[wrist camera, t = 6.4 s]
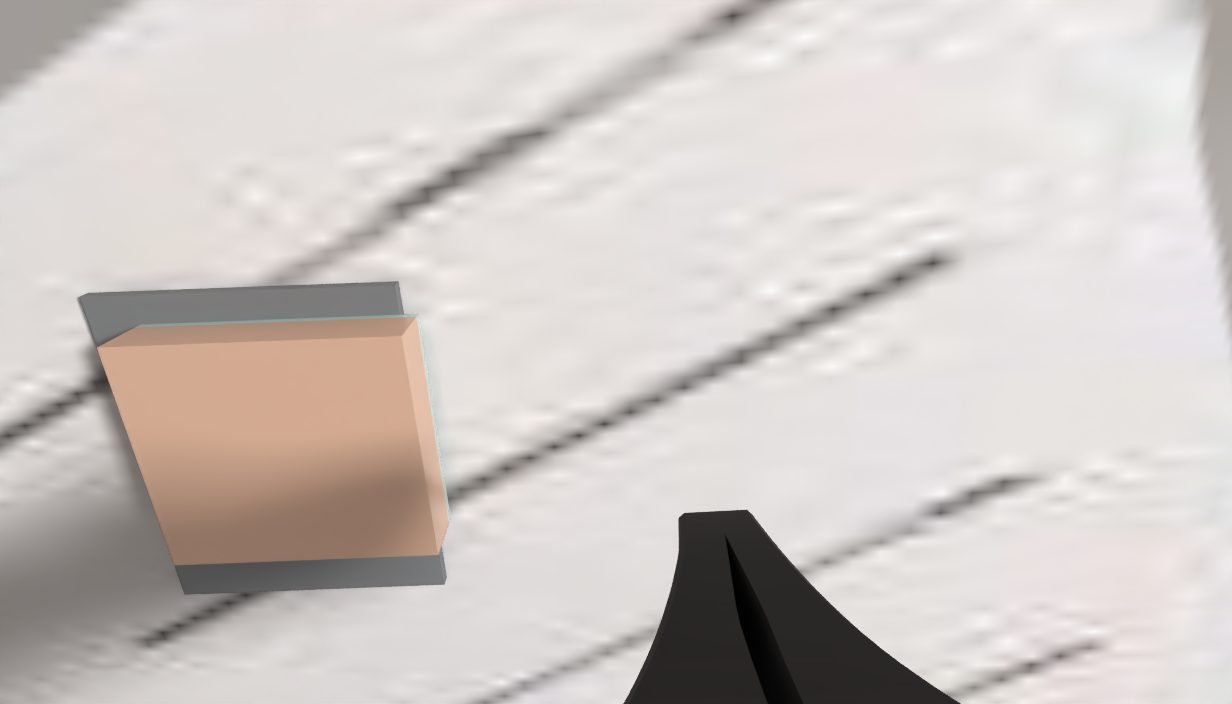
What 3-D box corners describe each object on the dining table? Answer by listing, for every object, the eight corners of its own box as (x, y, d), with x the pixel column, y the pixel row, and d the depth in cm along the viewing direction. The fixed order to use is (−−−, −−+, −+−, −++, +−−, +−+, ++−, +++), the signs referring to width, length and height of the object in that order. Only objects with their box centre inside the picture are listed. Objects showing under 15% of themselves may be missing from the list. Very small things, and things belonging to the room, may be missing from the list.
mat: (446, 577, 26) (444, 584, 26) (190, 587, 26) (185, 594, 26) (398, 281, 22) (394, 285, 21) (88, 293, 22) (79, 296, 21)
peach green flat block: (438, 554, 23) (174, 565, 23) (450, 519, 25) (206, 528, 25) (401, 335, 20) (96, 347, 20) (418, 313, 22) (140, 324, 22)
